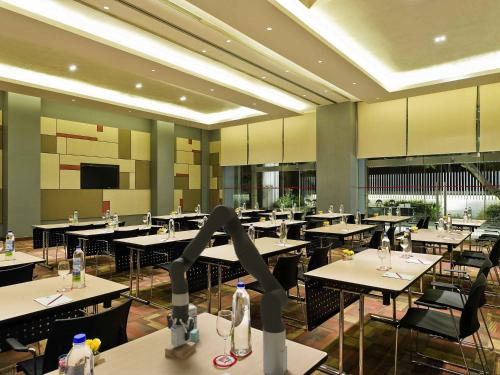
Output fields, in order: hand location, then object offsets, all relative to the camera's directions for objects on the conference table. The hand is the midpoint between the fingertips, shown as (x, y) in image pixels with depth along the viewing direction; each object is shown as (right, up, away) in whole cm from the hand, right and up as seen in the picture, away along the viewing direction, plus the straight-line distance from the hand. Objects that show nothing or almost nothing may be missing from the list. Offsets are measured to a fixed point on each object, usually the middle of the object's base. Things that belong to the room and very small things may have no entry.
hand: (180, 339), depth 165 cm
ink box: (-1, -6, +26) cm, 27 cm away
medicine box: (0, -2, 0) cm, 2 cm away
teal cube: (+3, -6, +12) cm, 14 cm away
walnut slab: (0, -7, 0) cm, 7 cm away
